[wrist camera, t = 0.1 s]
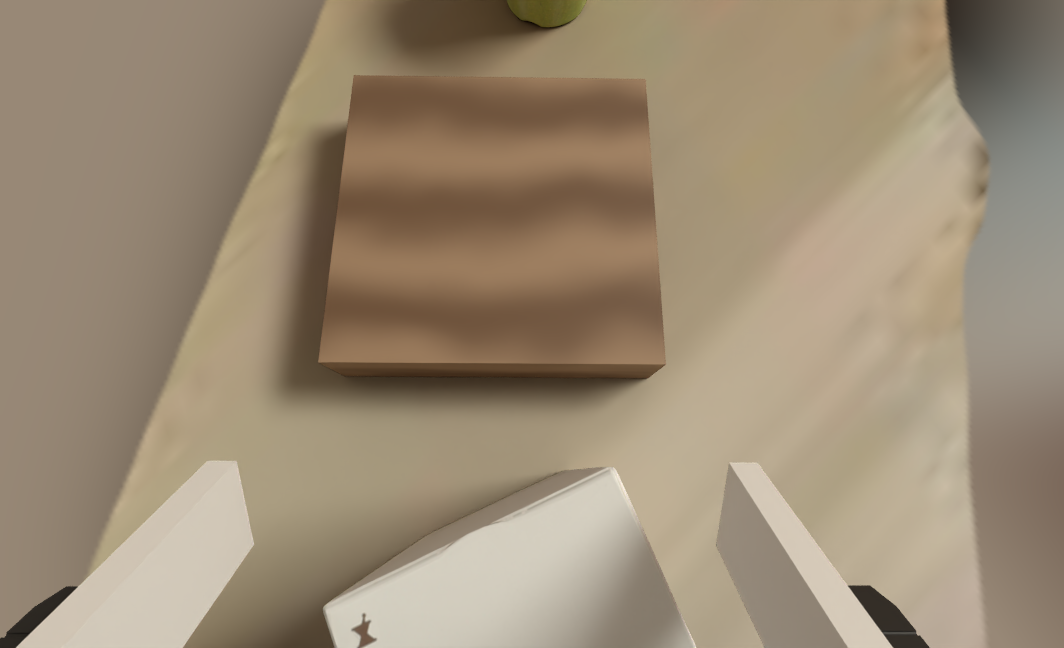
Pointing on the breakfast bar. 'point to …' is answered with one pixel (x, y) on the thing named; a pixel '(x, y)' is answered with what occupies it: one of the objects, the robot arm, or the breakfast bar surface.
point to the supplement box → (521, 578)
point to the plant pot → (547, 11)
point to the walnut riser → (495, 231)
